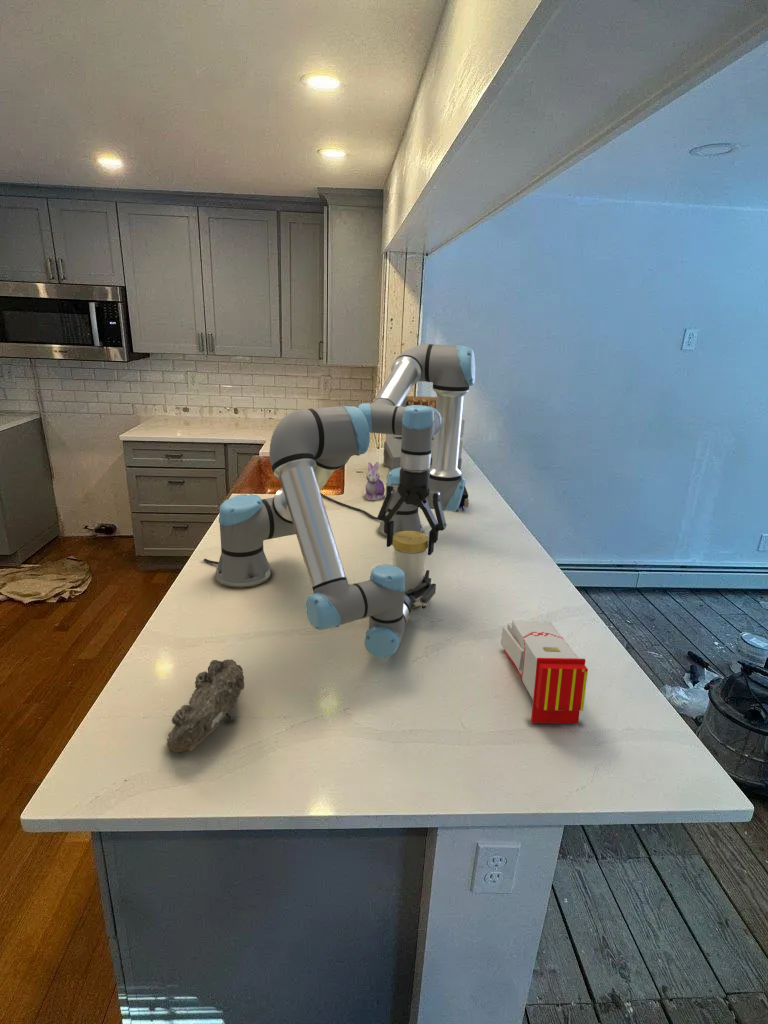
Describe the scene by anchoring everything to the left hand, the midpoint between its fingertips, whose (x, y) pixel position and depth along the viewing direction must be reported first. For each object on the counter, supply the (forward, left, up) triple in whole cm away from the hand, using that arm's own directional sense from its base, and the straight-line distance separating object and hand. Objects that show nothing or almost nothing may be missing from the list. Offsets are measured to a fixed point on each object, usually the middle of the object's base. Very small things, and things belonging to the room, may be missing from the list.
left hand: (410, 572), depth 157 cm
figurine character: (+6, +78, -6) cm, 79 cm away
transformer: (-17, +122, -6) cm, 124 cm away
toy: (+33, -32, -6) cm, 47 cm away
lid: (0, -5, +12) cm, 13 cm away
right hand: (0, -5, +9) cm, 10 cm away
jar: (0, -5, -6) cm, 8 cm away
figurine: (-29, +78, -6) cm, 84 cm away
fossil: (-27, -61, -6) cm, 67 cm away
